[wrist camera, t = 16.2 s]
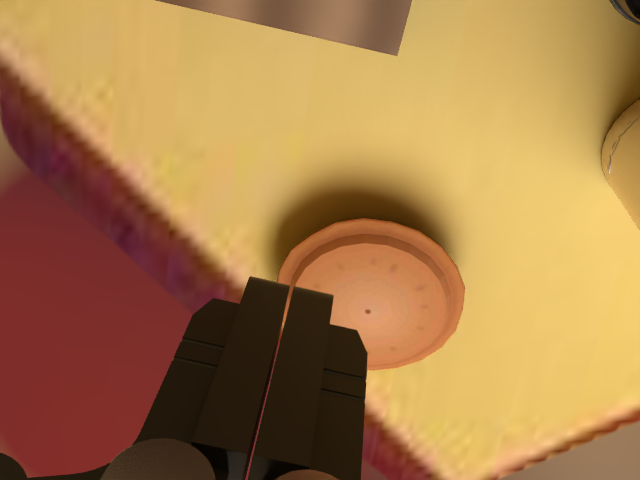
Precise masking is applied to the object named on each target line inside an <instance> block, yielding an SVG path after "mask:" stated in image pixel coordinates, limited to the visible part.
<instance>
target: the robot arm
mask: <svg viewBox="0 0 640 480" xmlns="http://www.w3.org/2000/svg"><path fill="white" fill-rule="evenodd" d="M601 161H602V169H603V172H604V175H605V177H606V180H607V181H608V183H609V184H610V186H611V187H612V189H613V190H614V192H615V193H616V195H617V196H618V198H619V199H620V201H621V202H622V204H623V206H624V207H625V209H626V210H627V212H628V213H629V215H630V216H631V218H632V219H633V221H634V222H635V224H636V225H637V227H638V229H639V230H640V100H638V101H636V102H635V103H634V104H633V105H631V106H630V107H629V108H627V109H626V110H625V111H624V112H623V113H622V114H621V115H620V116H619V118H618V119H617V120H616V121H615V122H614V124H613V125H612V127H611V129H610V130H609V132H608V133H607V136H606V139H605V141H604V144H603V148H602V156H601ZM289 289H290V285H287V284H282V283H278V282H274V281H269V280H265V279H260V278H256V277H251V276H250V277H249V280H248V282H247V285H246V288H245V291H244V294H243V296H242V299H241V302H240V304H238V303H233V302H229V301H224V300H220V299H215V298H213V299H212V300H210V301H209V302H208V303H207V304H205V305H204V306H203V307H202V308H200V309H199V310H198V311H197V312H196V313H194V314H193V315H192V318H191V320H190V322H189V324H188V327H187V329H186V331H185V334H184V336H183V339H182V342H181V343H180V345H179V347H178V349H177V351H176V353H175V356H174V360H173V361H172V362H171V365H170V367H169V369H168V371H167V374H166V376H165V378H164V380H163V383H162V385H161V387H160V390H159V392H158V394H157V396H156V398H155V400H154V403H153V405H152V407H151V409H150V412H149V414H148V416H147V418H146V421H145V423H144V425H143V427H142V429H141V432H140V434H139V435H138V437H137V439H136V441H135V442H134V443H133V444H132V446H130V447H129V448H127V449H125V450H124V451H122V452H121V453H120V454H118V455H117V456H116V457H115V458H114V459H113V461H111V462H110V463H108V464H107V465H105V466H102V467H100V468H97V469H95V470H91V471H88V472H84V473H78V474H70V475H57V476H47V477H46V476H45V477H34V478H27V476H26V474H25V472H24V470H23V468H22V467H21V466H20V465H19V463H18V462H16V461H15V460H14V459H12V458H11V457H9V456H7V455H5V454H3V453H0V480H245V479H246V475H247V471H248V467H249V463H250V458H251V455H252V450H253V446H254V442H255V438H256V434H257V430H258V426H259V422H260V417H261V413H262V409H263V405H264V401H265V397H266V393H267V388H268V385H269V380H270V376H271V372H272V368H273V363H274V359H275V354H276V350H277V345H278V340H279V336H280V331H281V327H282V322H283V317H284V313H285V308H286V303H287V299H288V294H289ZM333 298H334V295H332V294H328V293H323V292H319V291H314V290H310V289H306V288H301V287H297V286H294V287H293V291H292V295H291V299H290V304H289V308H288V312H287V316H286V320H285V324H284V329H283V333H282V337H281V341H280V345H279V349H278V354H277V358H276V362H275V366H274V370H273V374H272V379H271V383H270V387H269V391H268V396H267V399H266V404H265V408H264V412H263V416H262V420H261V424H260V429H259V433H258V437H257V441H256V445H255V450H254V454H253V458H252V463H251V468H250V472H249V477H248V480H361V464H362V446H363V429H364V411H365V403H364V401H365V393H366V376H367V358H368V353H367V351H366V348H365V346H364V344H363V342H362V340H361V337H360V335H359V333H358V331H357V330H355V329H350V328H346V327H341V326H337V325H332V324H330V319H331V312H332V305H333Z"/></svg>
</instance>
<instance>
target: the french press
mask: <svg viewBox="0 0 640 480" xmlns="http://www.w3.org/2000/svg"><path fill="white" fill-rule="evenodd" d="M610 2H611V3H612V5H613V6H614V8H615V9H616V10H617V11H618V12H619V13H621V14H622V15H623V16H624V17H625V18H627V19H629V20H630V21H632V22H634V23H636V24H638V25H640V0H610Z"/></svg>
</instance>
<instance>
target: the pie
mask: <svg viewBox="0 0 640 480" xmlns="http://www.w3.org/2000/svg"><path fill="white" fill-rule="evenodd" d="M277 282H278V283H282V284H287V285H290V289H289V294H288V299H287V303H286V308H285V313H284V317H283V322H284V323H285V320H286V316H287V312H288V308H289V304H290V299H291V295H292V291H293V287H294V286H297V287H301V288H306V289H310V290H314V291H319V292H323V293H328V294H332V295H334V298H333V305H332V312H331V319H330V324H332V325H337V326H341V327H346V328H350V329H355V330H357V331H358V333H359V335H360V337H361V340H362V342H363V344H364V346H365V348H366V351H367V353H368V358H367V370H382V369H391V368H398V367H401V366H404V365H407V364H411V363H414V362H417V361H420V360H422V359H424V358H425V357H427V356H429V355H430V354H432V353H433V352H435V351H437V350H438V349H440V348H441V347H442V346H443V345H444V344H445V342H446V341H447V340H448V339H449V338H450V337H451V335H452V334H453V333H454V332H455V331H456V328H457V325H458V322H459V319H460V316H461V313H462V310H463V302H464V293H465V286H464V284H463V281H462V278H461V276H460V273H459V270H458V268H457V266H456V264H455V263H454V262H453V261H452V259H451V258H450V257H449V255H448V254H447V253H446V252H445V250H444V249H443V248H442V246H440V245H439V244H437V243H436V242H434V241H433V240H431V239H430V238H429V237H427V236H426V235H424V234H423V233H421V232H420V231H418V230H415V229H412V228H409V227H406V226H404V225H401V224H398V223H395V222H392V221H384V220H376V219H368V218H359V219H353V220H347V221H341V222H335V223H333V224H331V225H329V226H327V227H325V228H323V229H322V230H320V231H318V232H316V233H314V234H312V235H310V236H309V237H308V238H306V239H305V240H304V241H302V242H301V243H300V244H298V245H297V246H295V247H294V248H293V249H291V251H290V253H289V254H288V256H287V258H286V259H285V261H284V263H283V265H282V266H281V268H280V271H279V275H278V279H277Z"/></svg>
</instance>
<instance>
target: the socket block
mask: <svg viewBox="0 0 640 480" xmlns="http://www.w3.org/2000/svg"><path fill="white" fill-rule="evenodd" d="M156 1H161V2H165V3H169V4H174V5H178V6H182V7H187V8H191V9H195V10H200V11H204V12H208V13H213V14H217V15H221V16H226V17H230V18H234V19H239V20H243V21H247V22H252V23H256V24H260V25H265V26H269V27H273V28H278V29H282V30H286V31H291V32H295V33H299V34H304V35H308V36H312V37H317V38H321V39H325V40H330V41H334V42H338V43H343V44H347V45H351V46H356V47H360V48H364V49H369V50H373V51H377V52H382V53H386V54H391V55H395V56H397V55H398V51H399V47H400V44H401V40H402V36H403V32H404V29H405V25H406V21H407V17H408V14H409V10H410V6H411V2H412V0H156Z"/></svg>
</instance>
